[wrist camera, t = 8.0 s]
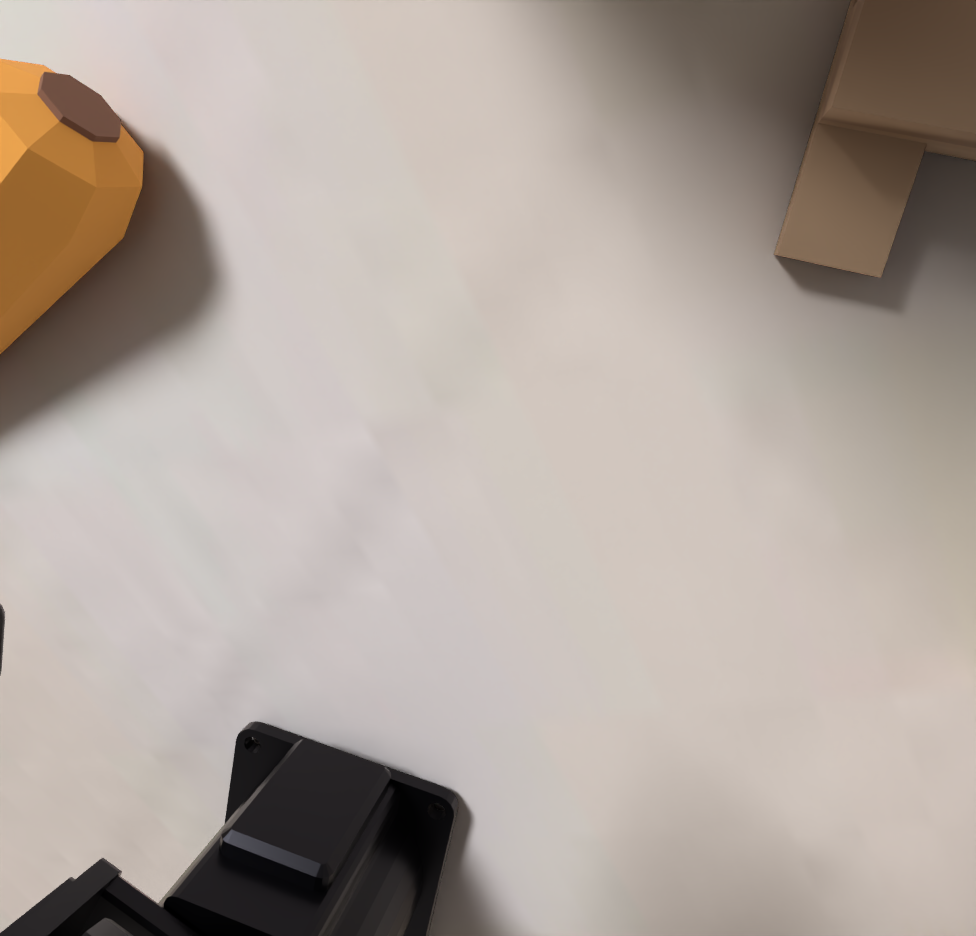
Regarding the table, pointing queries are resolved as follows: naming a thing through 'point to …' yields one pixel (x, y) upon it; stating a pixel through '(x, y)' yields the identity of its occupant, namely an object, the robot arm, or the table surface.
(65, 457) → the table surface
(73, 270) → the carrot
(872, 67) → the walnut crossed blocks
